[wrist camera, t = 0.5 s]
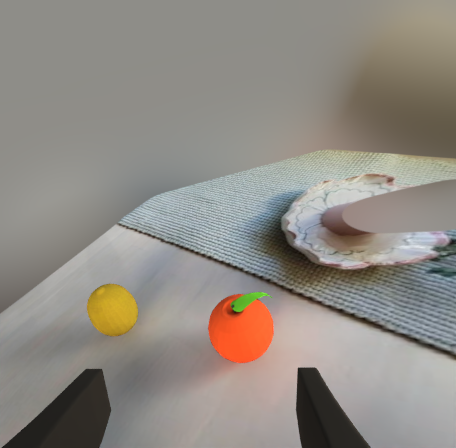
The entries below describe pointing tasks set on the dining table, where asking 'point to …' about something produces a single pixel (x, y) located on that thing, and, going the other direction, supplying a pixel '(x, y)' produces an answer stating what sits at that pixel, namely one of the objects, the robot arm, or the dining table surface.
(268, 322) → the clementine
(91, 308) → the lemon
